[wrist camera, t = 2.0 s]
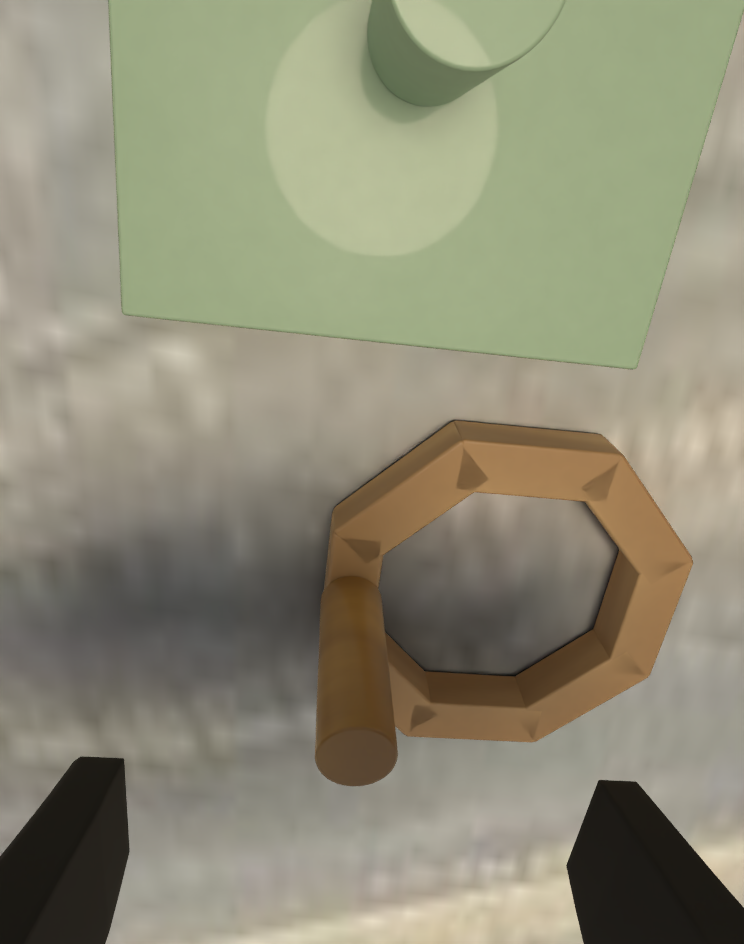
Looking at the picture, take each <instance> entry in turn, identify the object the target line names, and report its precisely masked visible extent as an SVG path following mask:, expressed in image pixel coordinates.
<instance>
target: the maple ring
mask: <svg viewBox="0 0 744 944" xmlns="http://www.w3.org/2000/svg"><path fill="white" fill-rule="evenodd" d="M474 492H480V493H492V494H503V495H515V496H527V497H538V498H550V499H562V500H573V501H585V503H586V504H587V505H588V507H589V508H590V509H591V511H592V512H593V514H594V515H595V516H596V518H597V519H598V520H599V522H600V523H601V525H602V526H603V527H604V529H605V530H606V531H607V533H608V534H609V536H610V537H611V538H612V540H613V541H614V542H615V544H616V545H617V547H618V548H619V549H620V550H619V553H618V556H617V559H616V562H615V565H614V568H613V571H612V574H611V577H610V580H609V583H608V586H607V589H606V592H605V595H604V598H603V602H602V605H601V608H600V611H599V614H598V617H597V620H596V623H595V626H594V629H593V630H591V631H589V632H588V633H586V634H584V635H583V636H581V637H579V638H578V639H576V640H574V641H573V642H571V643H569V644H568V645H566V646H564V647H563V648H561V649H559V650H558V651H556V652H554V653H553V654H551V655H550V656H548V657H546V658H545V659H543V660H541V661H540V662H538V663H536V664H535V665H533V666H531V667H530V668H528V669H526V670H525V671H523V672H521V673H520V674H518V675H516V676H515V677H514V676H496V675H479V674H461V673H444V672H427V671H424V670H423V669H422V668H421V667H420V666H419V665H418V664H417V663H416V662H415V661H414V660H413V659H412V658H411V657H410V656H409V655H408V654H407V653H406V652H405V651H404V650H403V649H402V648H401V647H400V646H399V645H398V644H397V643H396V642H395V641H394V640H393V639H392V638H391V637H390V636H389V635H388V634H387V633H386V632H385V628H384V618H383V609H382V599H381V594H380V592H379V590H378V587H379V581H380V574H381V567H382V560H383V555H384V554H386V553H387V552H389V551H390V550H391V549H393V548H394V547H396V546H397V545H399V544H400V543H402V542H403V541H404V540H406V539H407V538H409V537H410V536H412V535H413V534H414V533H416V532H417V531H419V530H420V529H422V528H423V527H425V526H426V525H427V524H429V523H430V522H432V521H433V520H435V519H436V518H438V517H439V516H440V515H442V514H443V513H445V512H446V511H448V510H449V509H451V508H452V507H453V506H455V505H456V504H458V503H459V502H461V501H462V500H463V499H465V498H466V497H468V496H469V495H471V494H472V493H474ZM692 565H693V560H692V557H691V555H690V554H689V552H688V551H687V549H686V548H685V546H684V545H683V543H682V542H681V540H680V539H679V537H678V536H677V534H676V533H675V531H674V530H673V528H672V527H671V525H670V524H669V522H668V521H667V519H666V518H665V516H664V515H663V513H662V512H661V510H660V509H659V507H658V506H657V504H656V503H655V502H654V500H653V499H652V497H651V496H650V494H649V493H648V491H647V490H646V488H645V487H644V485H643V484H642V482H641V481H640V479H639V478H638V476H637V475H636V473H635V472H634V470H633V469H632V467H631V466H630V464H629V463H628V461H627V460H626V458H625V457H624V455H623V454H622V453H620V452H619V451H618V450H617V449H616V448H615V447H614V446H613V445H612V444H611V443H610V442H609V441H608V440H607V439H606V438H605V437H603V436H602V435H601V434H591V433H580V432H570V431H559V430H549V429H539V428H528V427H518V426H508V425H497V424H487V423H476V422H466V421H454V422H451V423H449V424H448V425H447V426H445V427H444V428H442V429H441V430H440V431H438V432H437V433H436V434H434V435H433V436H432V437H430V438H429V439H427V440H426V441H425V442H423V443H422V444H421V445H419V446H418V447H416V448H415V449H414V450H412V451H411V452H410V453H408V454H407V455H406V456H404V457H403V458H401V459H400V460H399V461H397V462H396V463H395V464H393V465H392V466H390V467H389V468H388V469H386V470H385V471H384V472H382V473H381V474H380V475H378V476H377V477H375V478H374V479H373V480H371V481H370V482H369V483H367V484H366V485H365V486H363V487H362V488H360V489H359V490H358V491H356V492H355V493H354V494H352V495H351V496H349V497H348V498H347V499H345V500H344V501H343V502H341V503H340V504H339V505H337V506H336V507H335V508H334V511H333V512H332V518H331V528H330V537H329V547H328V556H327V566H326V575H325V584H324V591H323V593H322V596H321V606H320V633H319V659H318V686H317V713H316V740H315V762H316V765H317V767H318V769H319V771H320V772H321V773H322V774H323V775H324V776H325V777H326V778H327V779H329V780H331V781H333V782H335V783H337V784H341V785H346V786H364V785H368V784H372V783H374V782H377V781H379V780H381V779H382V778H384V777H385V776H387V775H388V774H389V773H390V772H391V771H392V769H393V768H394V766H395V764H396V761H397V757H398V750H397V741H396V731H395V727H397V728H398V729H399V730H400V731H401V732H402V733H403V734H405V735H406V736H411V737H432V738H453V739H474V740H495V741H516V742H536V741H538V740H539V739H541V738H543V737H544V736H546V735H548V734H550V733H551V732H553V731H555V730H557V729H558V728H560V727H562V726H564V725H565V724H567V723H569V722H571V721H572V720H574V719H576V718H578V717H579V716H581V715H583V714H585V713H586V712H588V711H590V710H592V709H593V708H595V707H597V706H599V705H600V704H602V703H604V702H606V701H607V700H609V699H611V698H613V697H614V696H616V695H618V694H620V693H621V692H623V691H625V690H627V689H628V688H630V687H632V686H634V685H635V684H637V683H639V682H641V681H642V680H644V679H646V678H648V676H649V675H650V673H651V671H652V668H653V665H654V663H655V660H656V658H657V655H658V653H659V650H660V647H661V645H662V642H663V640H664V637H665V634H666V632H667V629H668V627H669V624H670V622H671V619H672V616H673V614H674V611H675V609H676V606H677V604H678V601H679V598H680V596H681V593H682V591H683V588H684V585H685V583H686V580H687V578H688V575H689V573H690V570H691V567H692Z"/></svg>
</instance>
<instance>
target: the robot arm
mask: <svg viewBox="0 0 744 944" xmlns="http://www.w3.org/2000/svg"><path fill="white" fill-rule="evenodd" d="M128 855H129V835H128V818H127V802H126V785H125V768H124V759H123V758H101V757H80V758H78V759H77V760H75V761H74V762H73V763H72V764H71V766H70V767H69V769H68V770H67V771H66V773H65V774H64V775H63V777H62V778H61V779H60V781H59V782H58V783H57V785H56V786H55V787H54V789H53V790H52V791H51V793H50V794H49V795H48V797H47V798H46V799H45V801H44V802H43V803H42V804H41V806H40V807H39V808H38V810H37V811H36V812H35V814H34V815H33V816H32V817H31V819H30V820H29V821H28V822H27V824H26V825H25V826H24V827H23V829H22V830H21V831H20V832H19V834H18V835H17V836H16V837H15V839H14V840H13V841H12V842H11V844H10V845H9V846H8V847H7V849H6V850H5V851H4V852H3V854H2V855H1V856H0V944H105V942H106V940H107V937H108V934H109V931H110V927H111V923H112V919H113V915H114V911H115V907H116V904H117V900H118V896H119V892H120V888H121V884H122V880H123V876H124V871H125V867H126V863H127V859H128ZM566 866H567V870H568V875H569V880H570V885H571V889H572V894H573V899H574V904H575V908H576V913H577V917H578V921H579V925H580V930H581V934H582V938H583V942H584V944H744V908H743V907H742V905H741V904H740V903H739V902H738V901H737V900H736V899H735V897H734V896H733V895H732V894H731V893H730V892H729V890H728V889H727V888H726V887H725V886H724V885H723V884H722V882H721V881H720V880H719V879H718V878H717V877H716V875H715V874H714V873H713V872H712V871H711V869H710V868H709V867H708V866H707V865H706V864H705V862H704V861H703V860H702V859H701V858H700V857H699V855H698V854H697V853H696V852H695V851H694V849H693V848H692V847H691V846H690V845H689V844H688V842H687V841H686V840H685V839H684V838H683V836H682V835H681V834H680V833H679V832H678V830H677V829H676V828H675V827H674V826H673V825H672V823H671V822H670V821H669V820H668V819H667V817H666V816H665V815H664V814H663V813H662V811H661V810H660V809H659V808H658V807H657V805H656V804H655V803H654V802H653V801H652V800H651V798H650V797H649V796H648V795H647V794H646V793H645V791H644V790H643V789H642V788H641V787H640V786H639V784H638V783H637V782H631V781H609V780H599V781H598V783H597V786H596V789H595V791H594V794H593V797H592V799H591V802H590V805H589V807H588V810H587V813H586V815H585V818H584V820H583V823H582V826H581V828H580V831H579V834H578V836H577V839H576V842H575V844H574V847H573V849H572V852H571V855H570V857H569V860H568V863H567V865H566Z"/></svg>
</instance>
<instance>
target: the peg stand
mask: <svg viewBox="0 0 744 944" xmlns="http://www.w3.org/2000/svg"><path fill="white" fill-rule="evenodd" d="M108 6H109V29H110V52H111V75H112V98H113V121H114V144H115V167H116V190H117V213H118V236H119V259H120V282H121V305H122V313H123V314H124V315H128V316H137V317H146V318H156V319H165V320H174V321H184V322H193V323H202V324H212V325H221V326H231V327H240V328H249V329H259V330H268V331H277V332H287V333H296V334H305V335H315V336H324V337H333V338H343V339H352V340H361V341H371V342H380V343H390V344H399V345H408V346H418V347H427V348H436V349H446V350H455V351H464V352H474V353H483V354H492V355H502V356H511V357H520V358H530V359H539V360H549V361H558V362H567V363H577V364H586V365H595V366H605V367H614V368H623V369H636V368H637V366H638V362H639V359H640V356H641V352H642V349H643V346H644V342H645V339H646V336H647V332H648V329H649V326H650V322H651V319H652V315H653V312H654V309H655V305H656V302H657V299H658V295H659V292H660V289H661V285H662V282H663V279H664V275H665V272H666V269H667V265H668V262H669V259H670V255H671V252H672V249H673V245H674V242H675V239H676V235H677V232H678V229H679V225H680V222H681V219H682V215H683V212H684V209H685V205H686V202H687V199H688V195H689V192H690V189H691V185H692V182H693V179H694V175H695V172H696V169H697V165H698V162H699V158H700V155H701V152H702V148H703V145H704V142H705V138H706V135H707V132H708V128H709V125H710V122H711V118H712V115H713V112H714V108H715V105H716V102H717V98H718V95H719V92H720V88H721V85H722V82H723V78H724V75H725V72H726V68H727V65H728V62H729V58H730V55H731V52H732V48H733V45H734V42H735V38H736V35H737V32H738V28H739V25H740V22H741V18H742V15H743V12H744V0H108Z"/></svg>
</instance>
